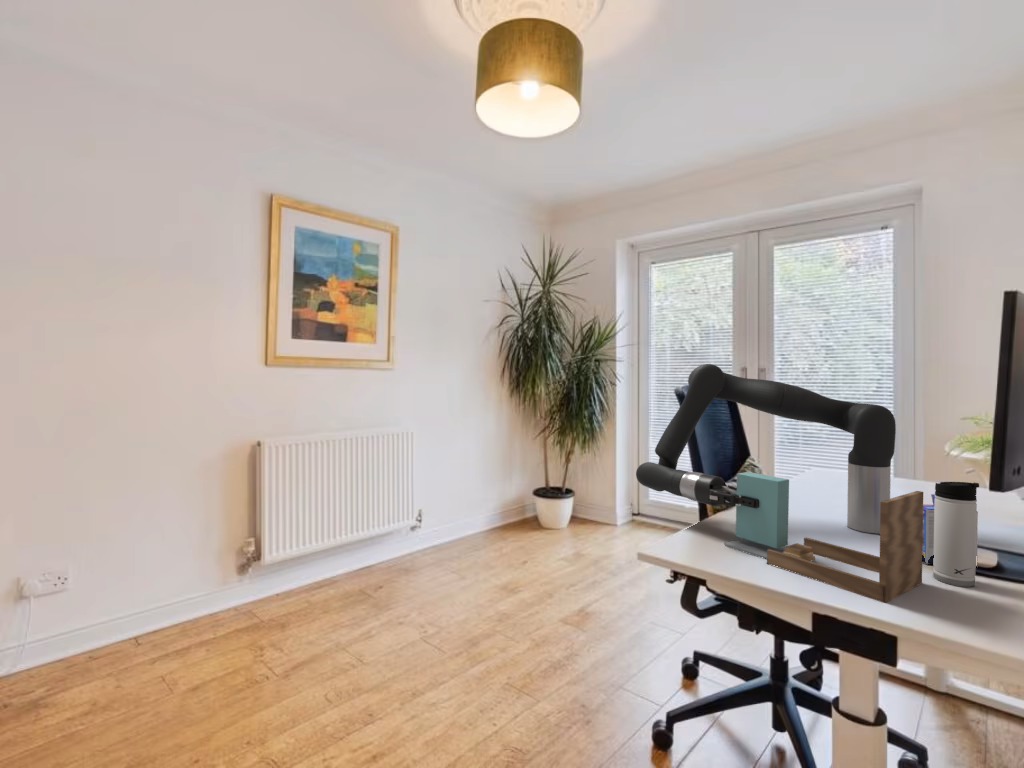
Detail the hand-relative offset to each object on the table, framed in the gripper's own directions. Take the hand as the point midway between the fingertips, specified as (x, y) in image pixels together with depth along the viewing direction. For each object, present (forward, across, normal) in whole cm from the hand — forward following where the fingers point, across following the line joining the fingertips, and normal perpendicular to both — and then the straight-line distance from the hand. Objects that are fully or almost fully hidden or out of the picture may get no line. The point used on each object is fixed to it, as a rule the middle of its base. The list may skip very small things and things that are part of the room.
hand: (764, 502), depth 117 cm
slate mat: (0, 0, +11) cm, 11 cm away
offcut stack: (+8, 0, +11) cm, 14 cm away
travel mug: (+30, +15, +11) cm, 36 cm away
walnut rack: (+17, 0, +11) cm, 20 cm away
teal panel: (-1, 0, +9) cm, 9 cm away
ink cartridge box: (+25, +26, +11) cm, 38 cm away
